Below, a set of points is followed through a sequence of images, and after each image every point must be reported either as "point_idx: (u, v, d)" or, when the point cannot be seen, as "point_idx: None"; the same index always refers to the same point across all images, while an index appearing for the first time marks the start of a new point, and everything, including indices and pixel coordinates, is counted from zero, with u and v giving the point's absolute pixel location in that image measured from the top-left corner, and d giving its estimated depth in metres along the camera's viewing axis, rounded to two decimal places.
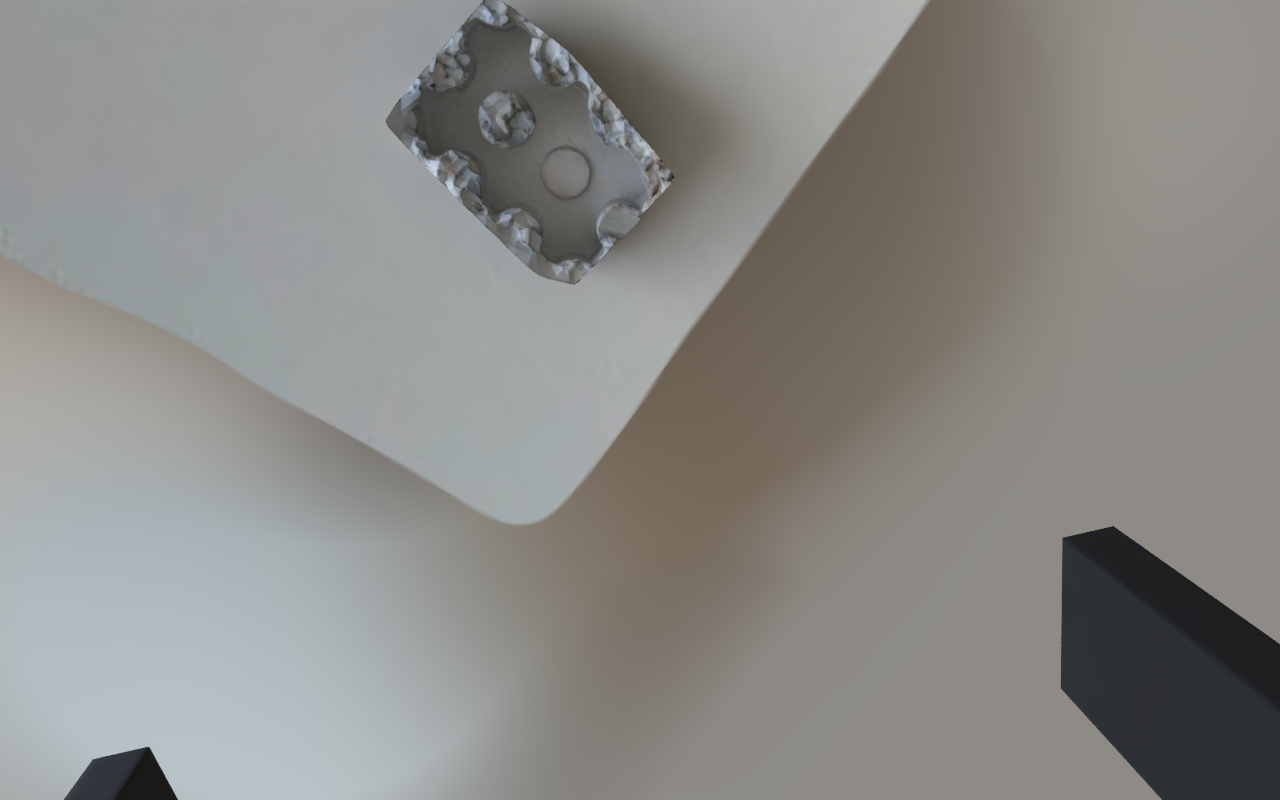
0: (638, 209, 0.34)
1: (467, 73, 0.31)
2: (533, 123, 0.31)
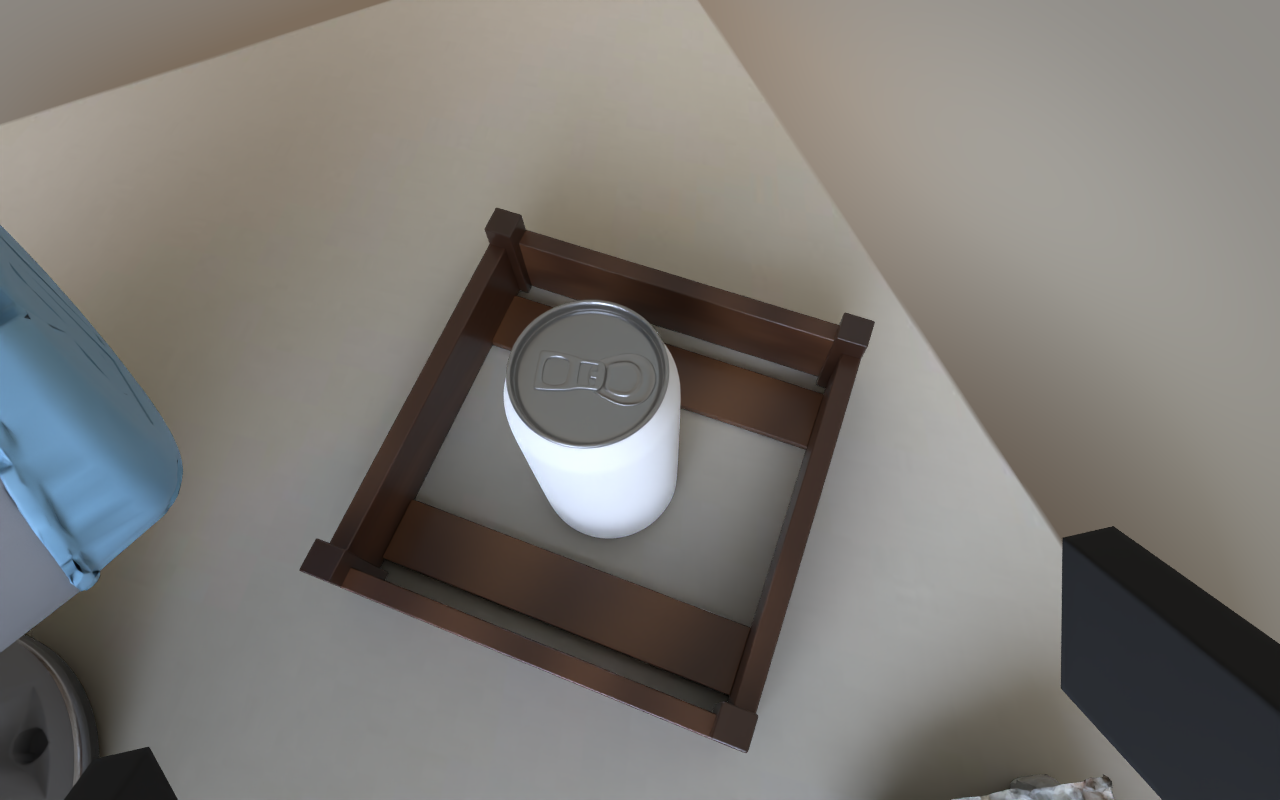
0: None
1: None
2: None
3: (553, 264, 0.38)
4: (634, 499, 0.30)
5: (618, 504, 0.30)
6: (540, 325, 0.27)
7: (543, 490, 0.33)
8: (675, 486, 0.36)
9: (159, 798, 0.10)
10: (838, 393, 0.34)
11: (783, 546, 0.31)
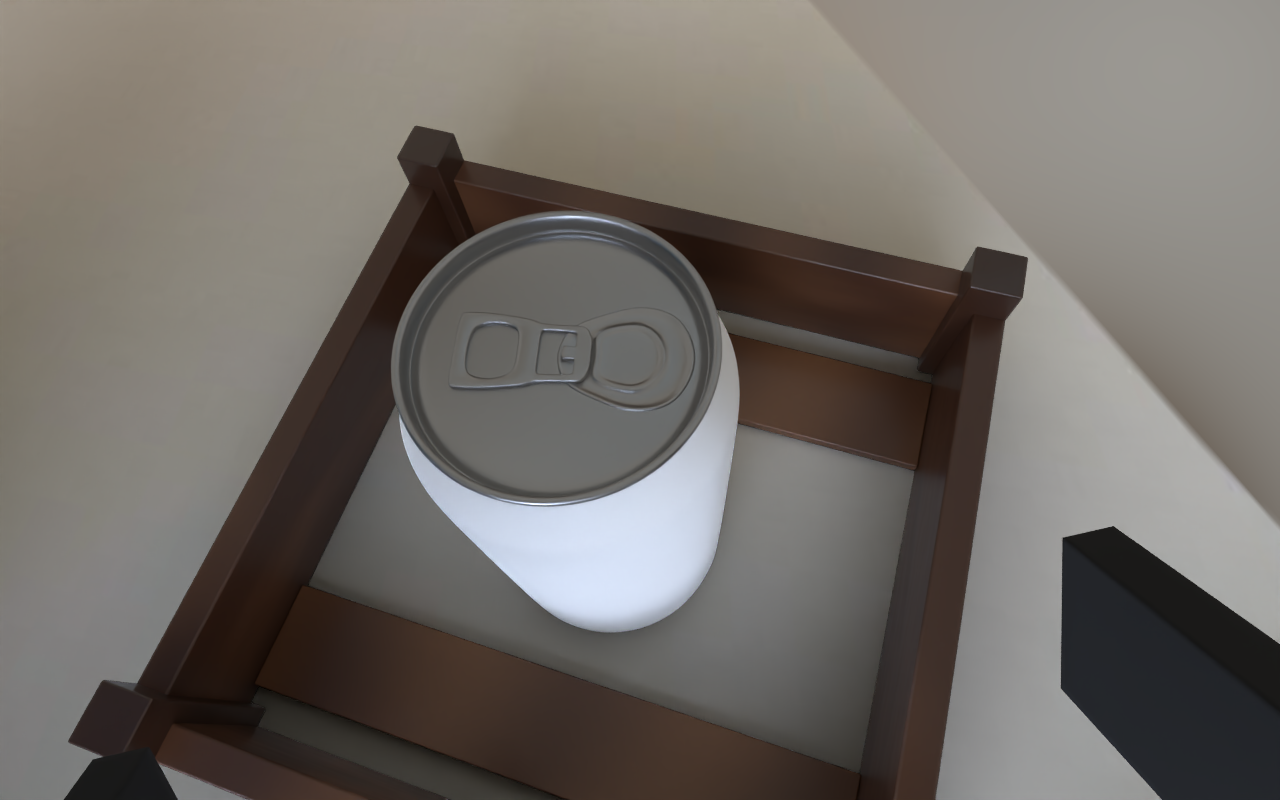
0: None
1: None
2: None
3: (509, 211, 0.25)
4: (659, 580, 0.17)
5: (630, 592, 0.17)
6: (461, 266, 0.14)
7: None
8: None
9: (159, 798, 0.10)
10: (977, 378, 0.21)
11: (920, 644, 0.18)
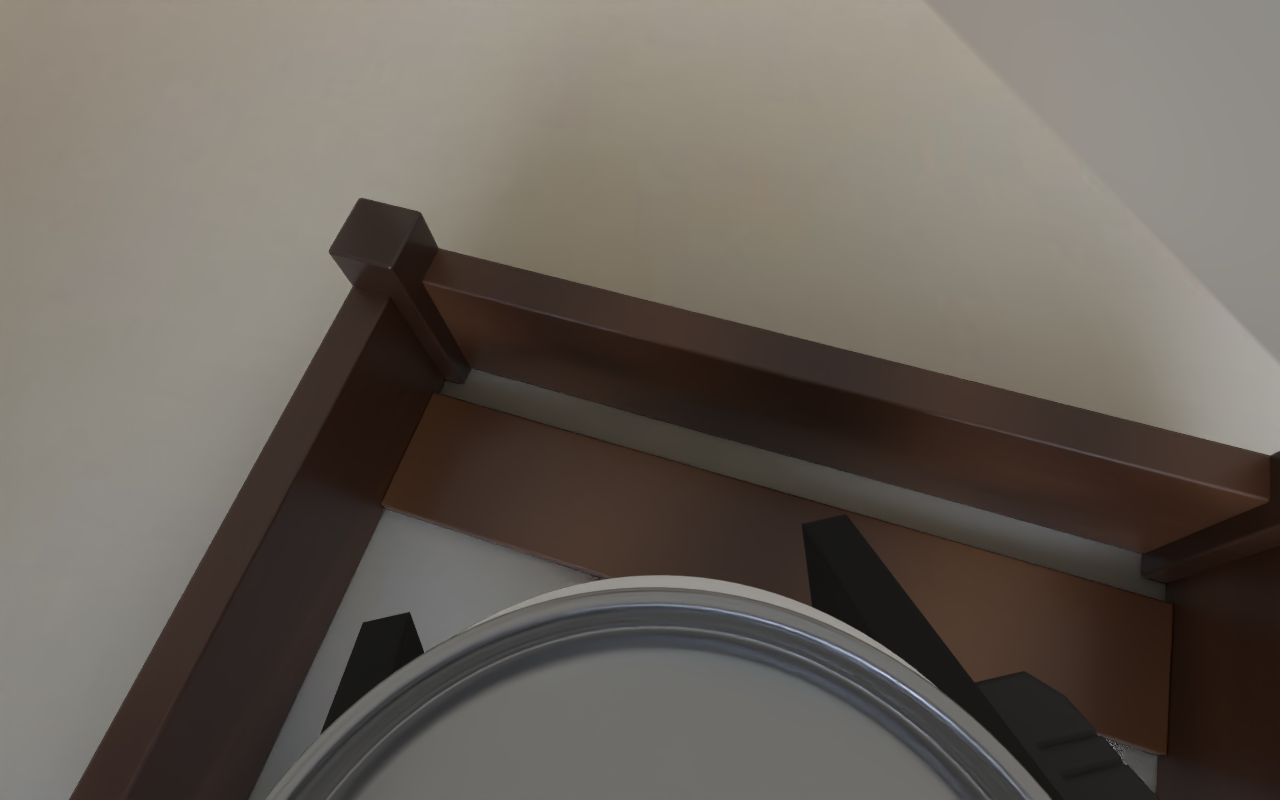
0: None
1: None
2: None
3: (509, 325, 0.16)
4: None
5: None
6: (366, 745, 0.05)
7: None
8: None
9: None
10: None
11: None
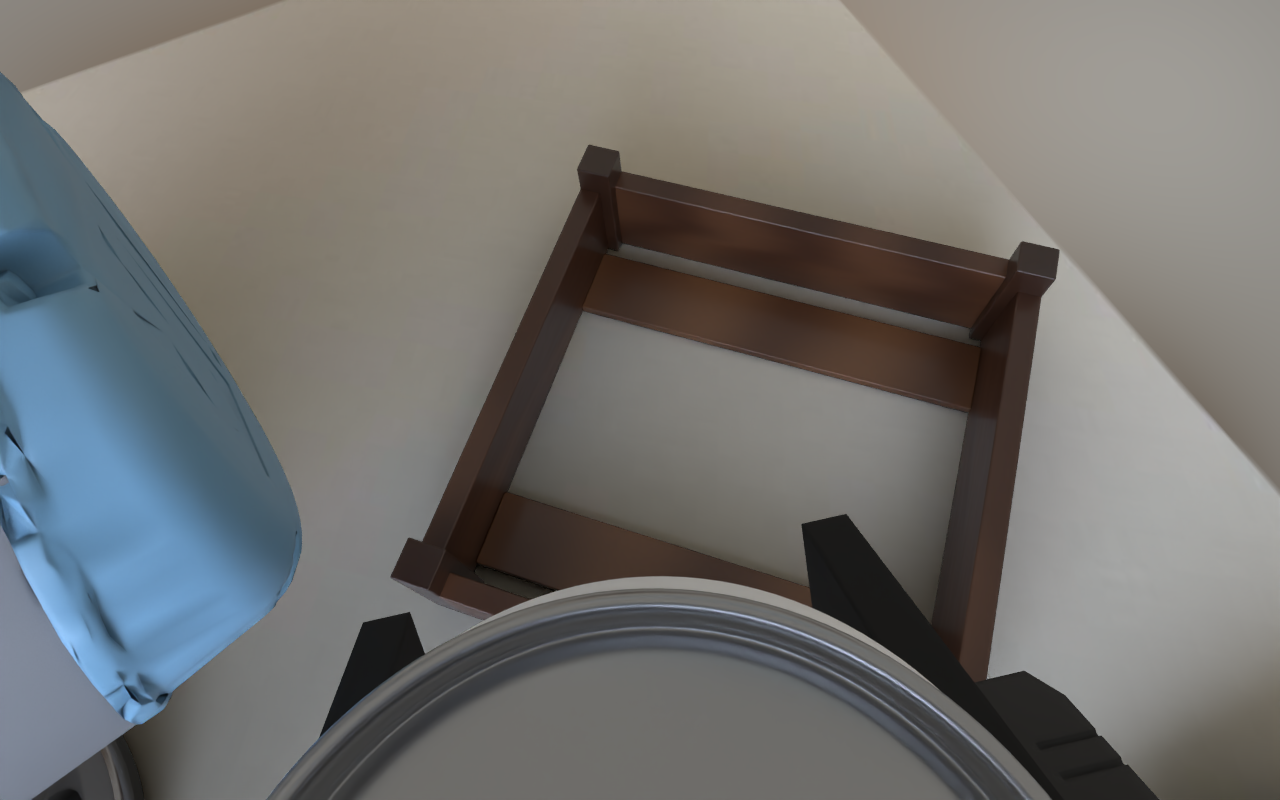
0: None
1: None
2: None
3: (655, 210, 0.33)
4: None
5: None
6: (367, 746, 0.05)
7: None
8: None
9: (418, 656, 0.12)
10: (1021, 338, 0.28)
11: (982, 522, 0.25)
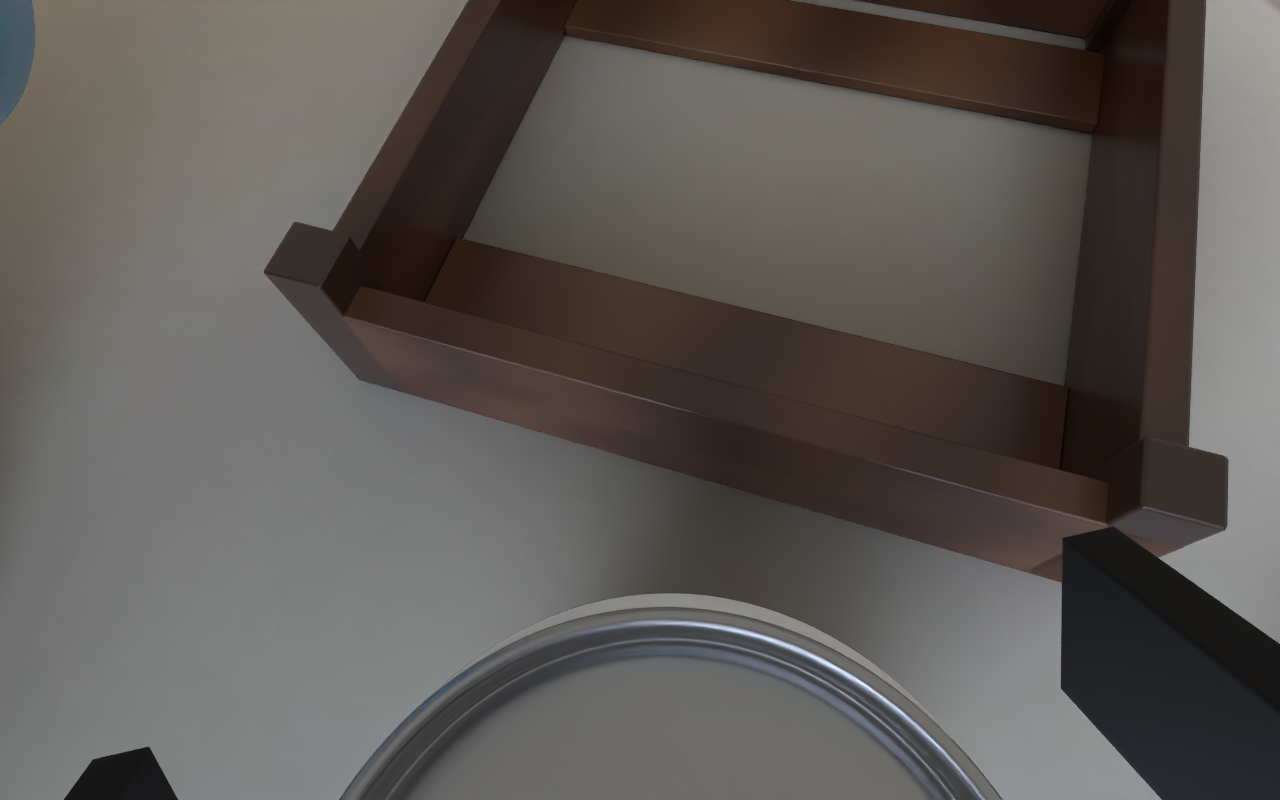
0: None
1: None
2: None
3: None
4: None
5: None
6: (432, 736, 0.06)
7: None
8: None
9: (159, 798, 0.10)
10: None
11: (1158, 200, 0.17)
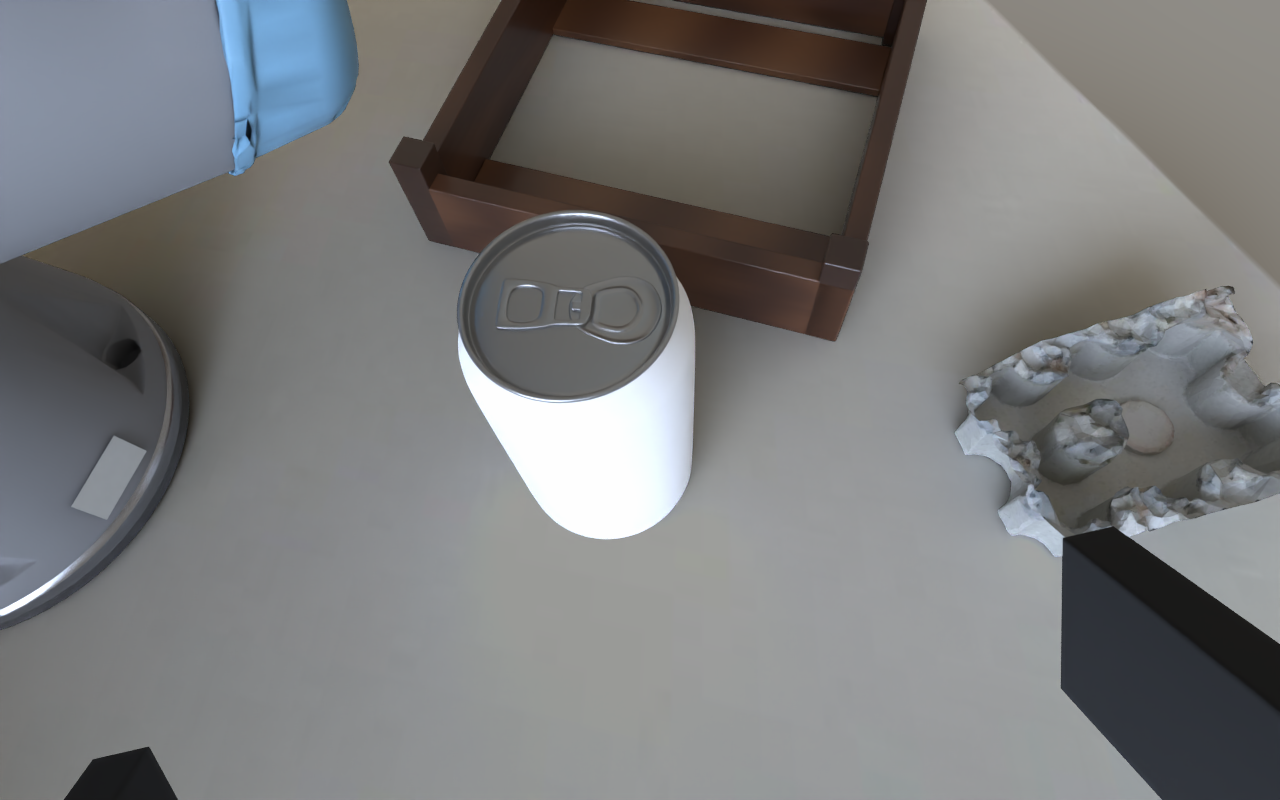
0: (1233, 353, 0.28)
1: (1031, 441, 0.26)
2: (1112, 401, 0.27)
3: None
4: (640, 480, 0.23)
5: (620, 488, 0.23)
6: (502, 248, 0.20)
7: (523, 479, 0.25)
8: (690, 470, 0.29)
9: (159, 798, 0.10)
10: (913, 4, 0.34)
11: (873, 126, 0.31)
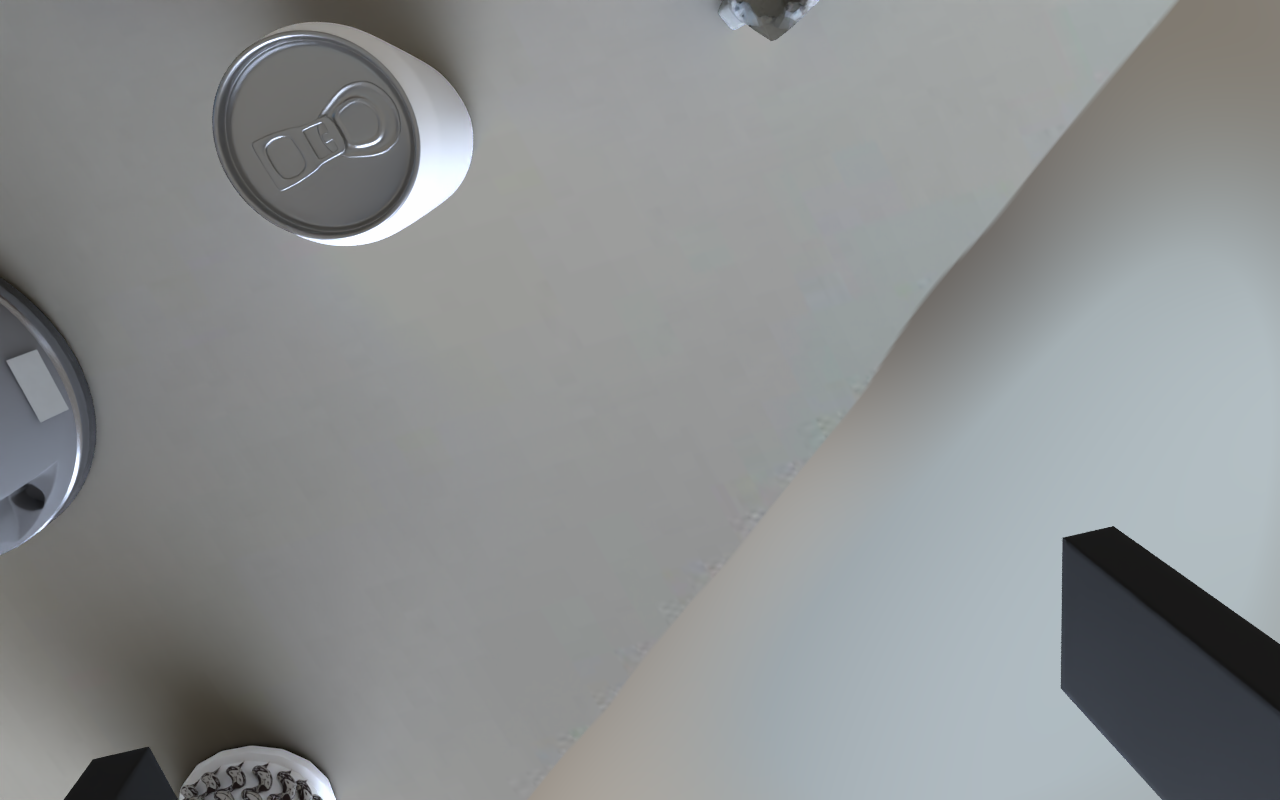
0: None
1: None
2: None
3: None
4: (448, 188, 0.28)
5: (437, 203, 0.28)
6: (224, 111, 0.21)
7: None
8: (468, 113, 0.32)
9: (159, 798, 0.10)
10: None
11: None
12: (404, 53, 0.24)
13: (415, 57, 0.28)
